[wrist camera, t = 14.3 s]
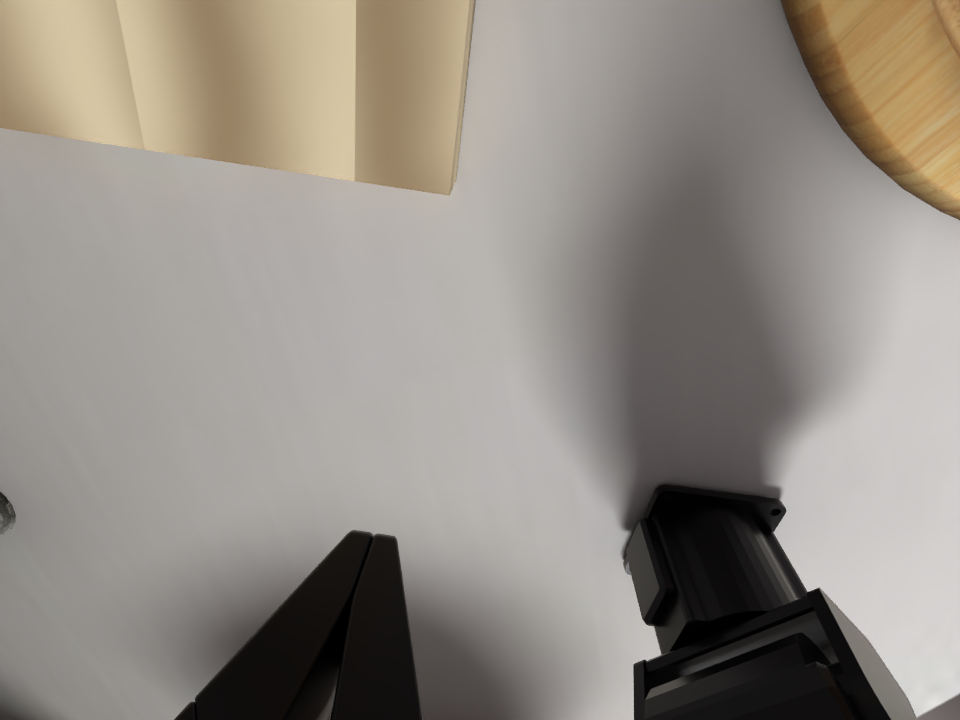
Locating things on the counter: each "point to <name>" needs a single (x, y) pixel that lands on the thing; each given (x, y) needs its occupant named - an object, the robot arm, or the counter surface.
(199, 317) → the counter surface
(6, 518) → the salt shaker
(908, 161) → the wooden plate with food
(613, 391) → the counter surface
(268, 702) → the robot arm
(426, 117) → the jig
